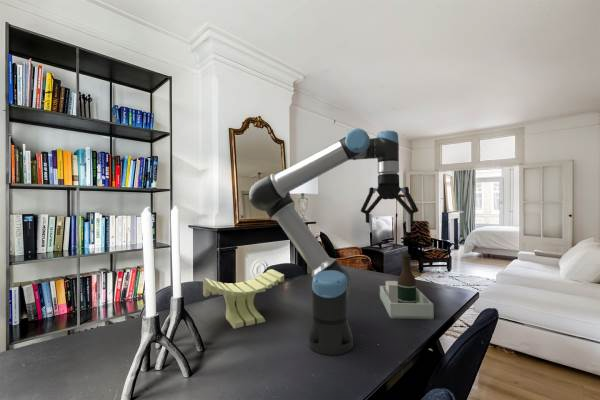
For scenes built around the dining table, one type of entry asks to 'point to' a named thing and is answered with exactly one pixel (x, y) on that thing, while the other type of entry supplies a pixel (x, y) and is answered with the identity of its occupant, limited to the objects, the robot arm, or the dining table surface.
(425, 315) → the tote
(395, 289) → the off-white rectangular block
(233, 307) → the slatted curved stool
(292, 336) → the dining table surface
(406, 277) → the beer bottle
